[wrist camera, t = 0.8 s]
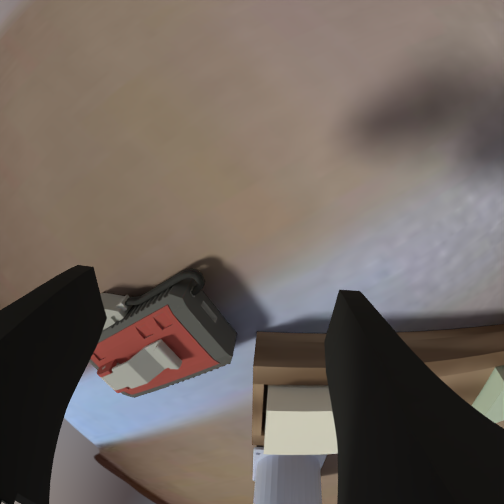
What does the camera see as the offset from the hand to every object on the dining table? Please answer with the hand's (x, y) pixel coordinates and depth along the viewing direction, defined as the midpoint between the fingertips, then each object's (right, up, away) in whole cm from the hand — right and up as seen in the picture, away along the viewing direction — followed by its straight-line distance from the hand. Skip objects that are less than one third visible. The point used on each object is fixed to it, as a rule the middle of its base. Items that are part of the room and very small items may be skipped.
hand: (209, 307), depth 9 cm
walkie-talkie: (-9, -5, +15) cm, 18 cm away
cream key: (+5, -10, +12) cm, 16 cm away
